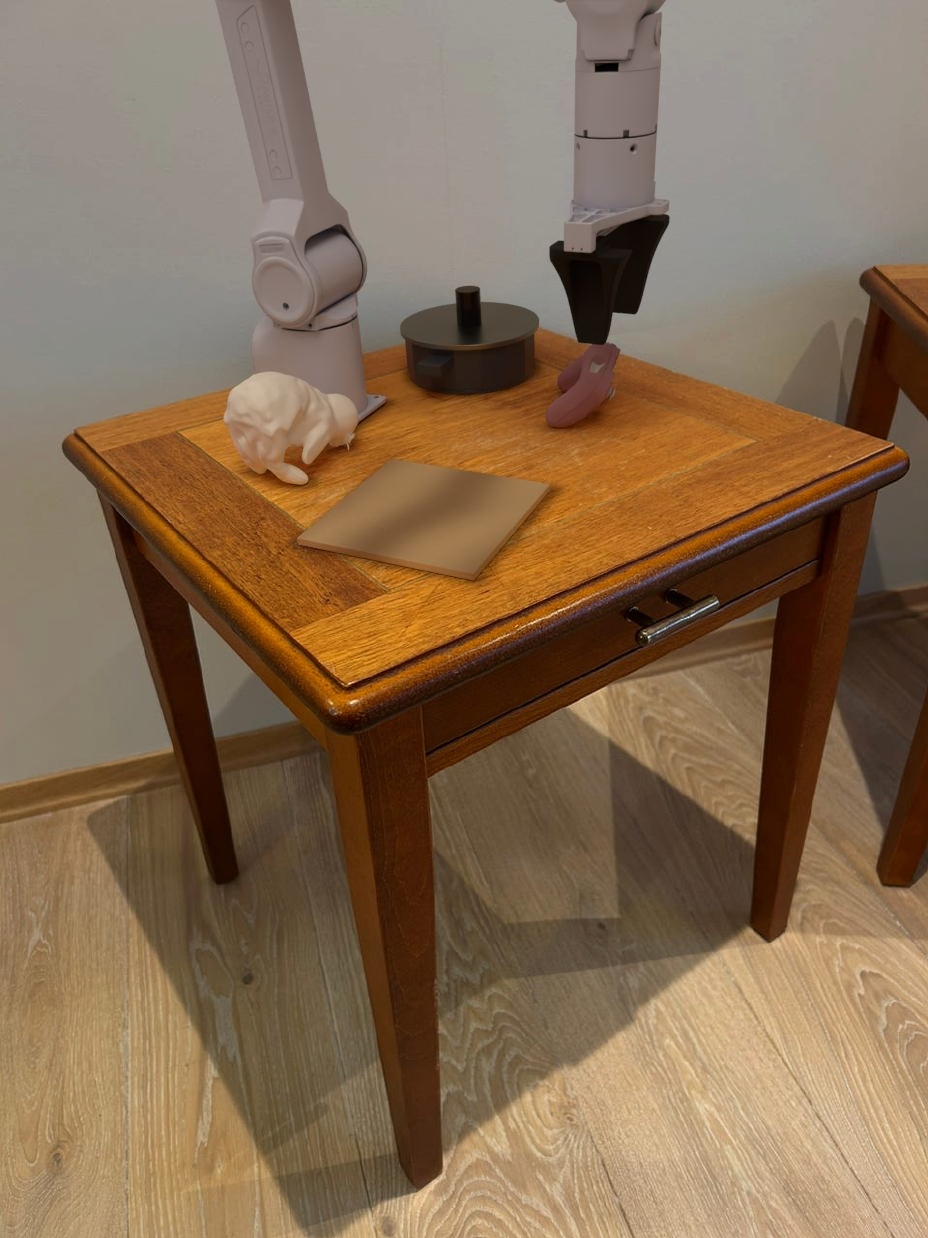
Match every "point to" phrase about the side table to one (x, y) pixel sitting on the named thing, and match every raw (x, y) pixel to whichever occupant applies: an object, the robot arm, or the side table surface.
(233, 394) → the crouching animal figurine
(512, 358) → the pan
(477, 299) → the lid
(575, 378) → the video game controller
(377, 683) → the side table surface
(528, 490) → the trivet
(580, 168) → the robot arm
